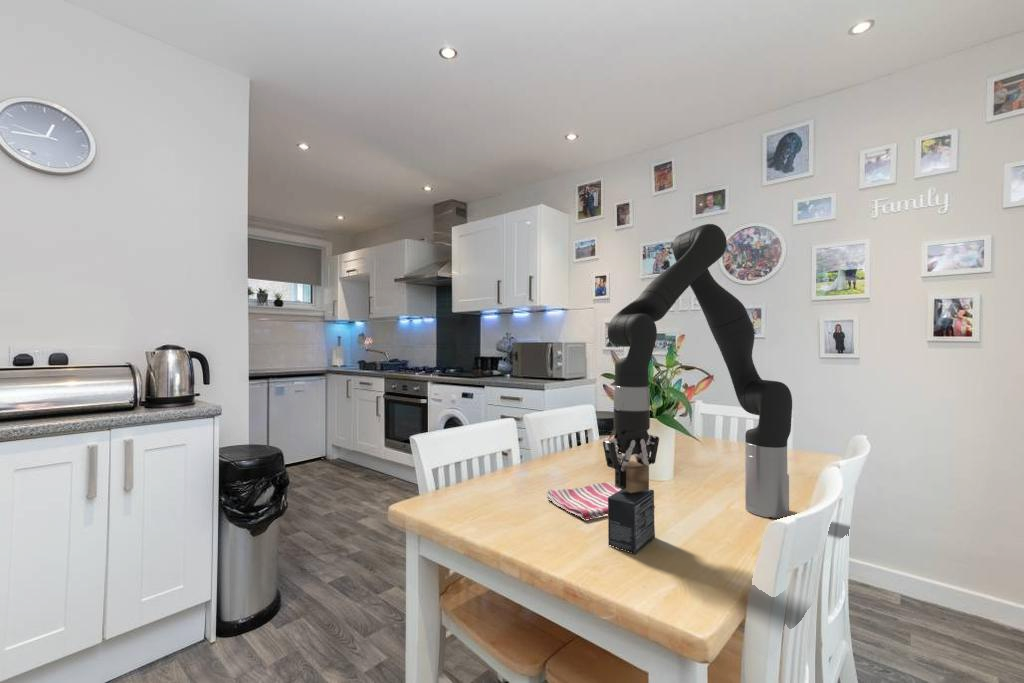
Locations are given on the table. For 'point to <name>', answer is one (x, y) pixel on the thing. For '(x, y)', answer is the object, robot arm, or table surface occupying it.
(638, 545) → the small box
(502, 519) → the table surface
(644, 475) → the walnut block
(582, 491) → the dish towel
